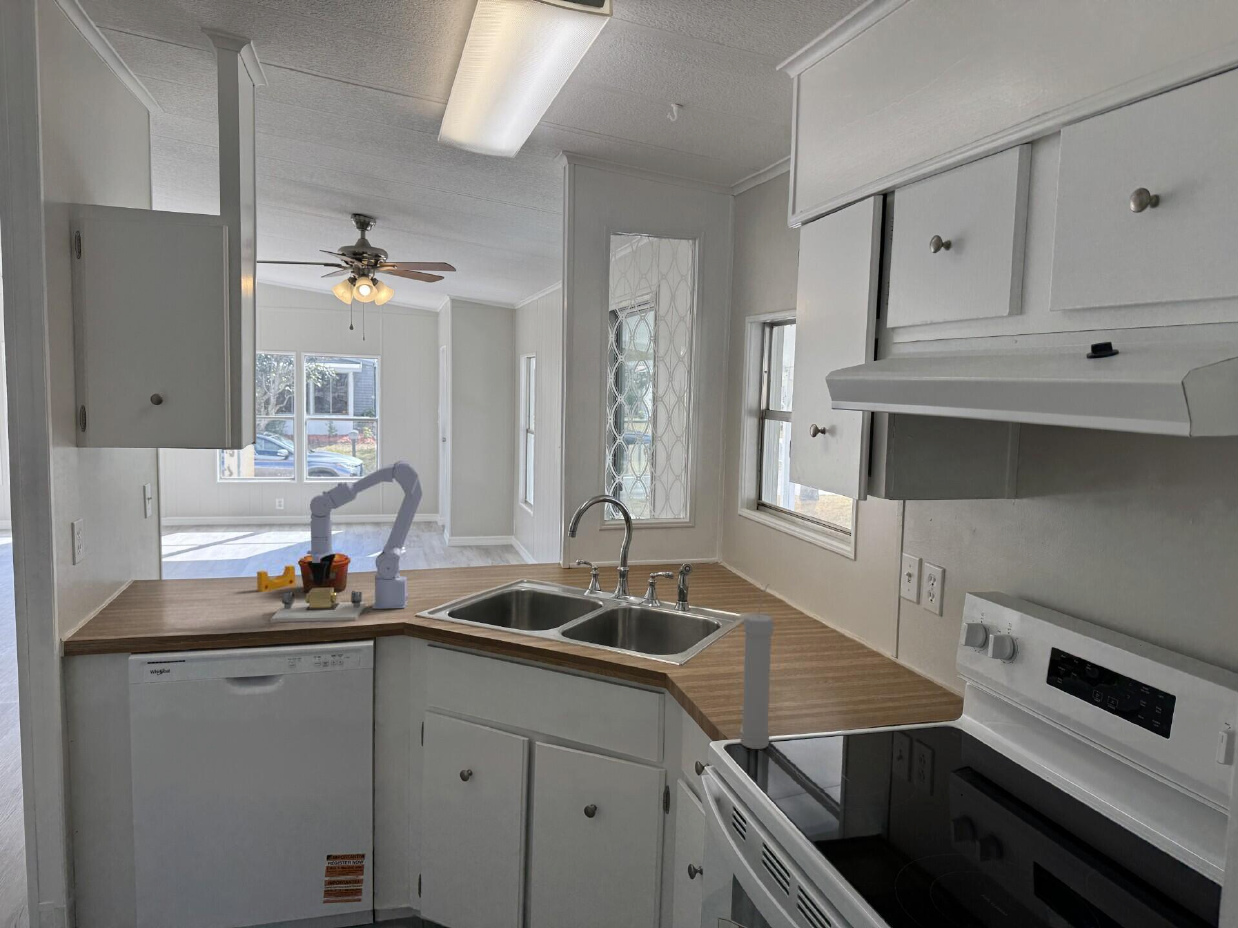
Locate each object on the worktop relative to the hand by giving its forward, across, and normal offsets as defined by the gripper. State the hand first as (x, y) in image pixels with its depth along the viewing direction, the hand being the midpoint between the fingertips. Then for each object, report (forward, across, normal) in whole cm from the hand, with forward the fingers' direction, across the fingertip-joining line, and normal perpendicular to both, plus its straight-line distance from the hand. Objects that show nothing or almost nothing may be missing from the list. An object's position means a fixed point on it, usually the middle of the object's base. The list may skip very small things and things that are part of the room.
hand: (322, 581), depth 232 cm
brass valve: (+7, 0, 0) cm, 7 cm away
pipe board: (+9, +3, 0) cm, 9 cm away
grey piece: (+9, +99, +101) cm, 142 cm away
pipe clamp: (+9, -30, -22) cm, 38 cm away
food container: (+9, -25, -5) cm, 27 cm away
